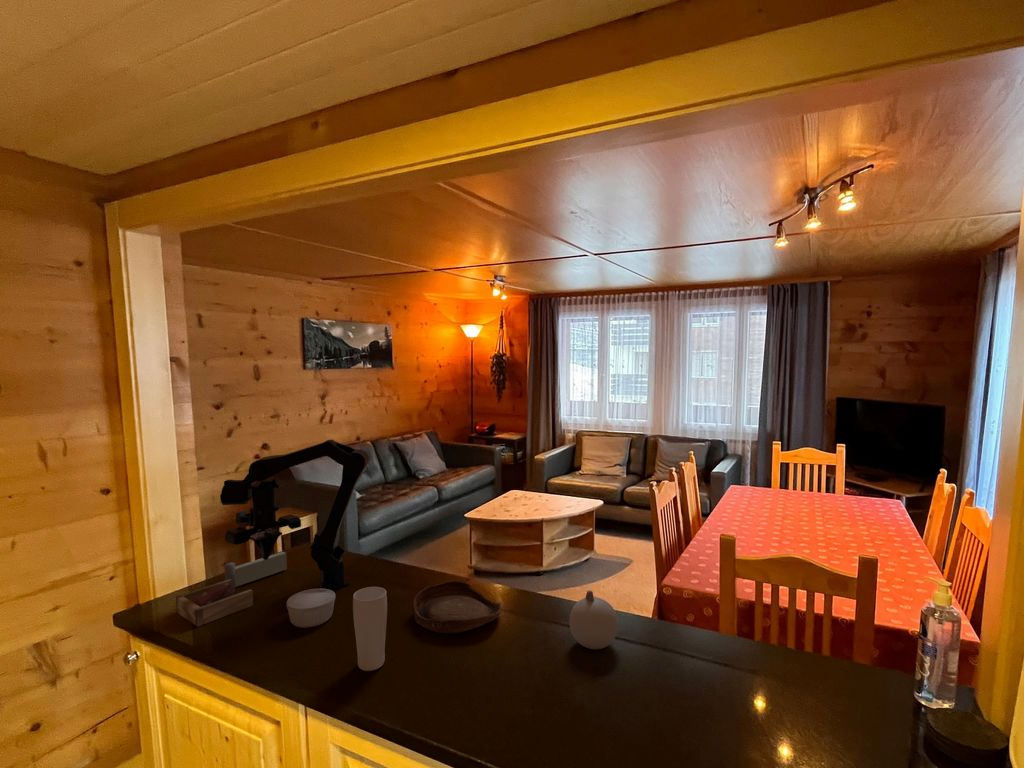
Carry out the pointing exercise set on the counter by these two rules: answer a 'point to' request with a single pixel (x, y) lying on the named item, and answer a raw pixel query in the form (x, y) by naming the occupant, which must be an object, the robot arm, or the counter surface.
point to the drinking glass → (370, 626)
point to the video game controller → (215, 594)
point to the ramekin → (310, 607)
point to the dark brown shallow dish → (453, 608)
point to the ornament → (593, 622)
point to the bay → (211, 605)
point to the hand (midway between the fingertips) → (265, 559)
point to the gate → (255, 569)
